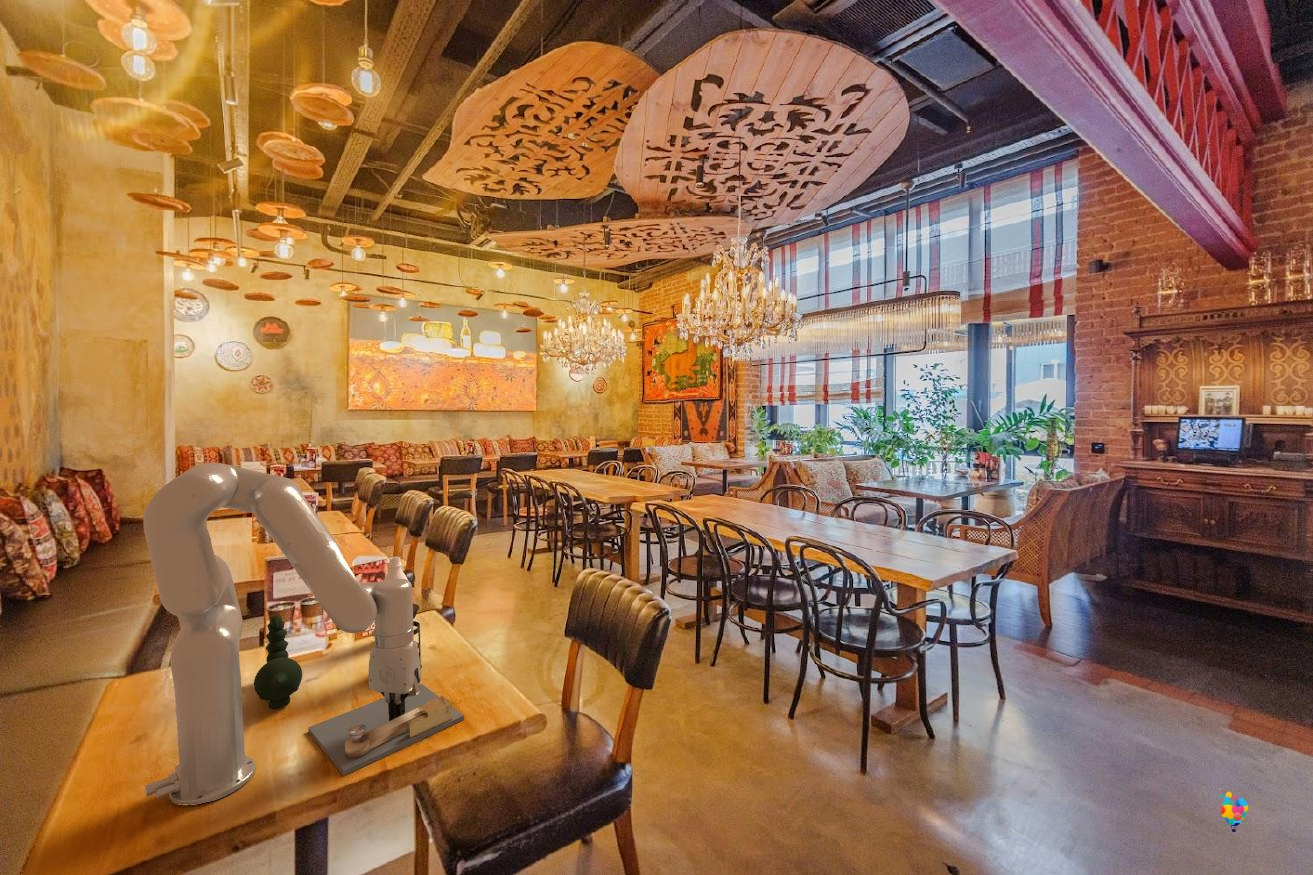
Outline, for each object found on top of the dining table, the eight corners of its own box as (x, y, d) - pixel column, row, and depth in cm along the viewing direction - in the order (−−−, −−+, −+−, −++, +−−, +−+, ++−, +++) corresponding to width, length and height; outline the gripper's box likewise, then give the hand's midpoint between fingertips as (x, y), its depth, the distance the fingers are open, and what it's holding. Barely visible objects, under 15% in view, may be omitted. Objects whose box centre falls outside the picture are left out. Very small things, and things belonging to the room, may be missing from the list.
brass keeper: (410, 738, 115) (409, 721, 115) (400, 730, 118) (400, 713, 118) (452, 719, 122) (452, 702, 122) (442, 711, 125) (442, 695, 125)
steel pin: (351, 746, 108) (351, 735, 108) (345, 739, 110) (345, 729, 110) (368, 739, 110) (368, 728, 110) (362, 732, 113) (362, 722, 112)
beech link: (351, 761, 107) (351, 750, 107) (341, 752, 110) (340, 741, 110) (436, 718, 122) (436, 708, 122) (425, 711, 125) (425, 701, 124)
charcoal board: (343, 775, 105) (343, 770, 105) (308, 731, 119) (308, 727, 119) (464, 719, 124) (463, 715, 123) (421, 687, 137) (421, 683, 137)
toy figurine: (256, 687, 140) (254, 726, 120) (253, 614, 140) (250, 640, 120) (300, 677, 145) (305, 712, 125) (296, 606, 146) (301, 629, 125)
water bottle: (399, 645, 161) (397, 562, 159) (378, 642, 162) (376, 560, 161) (415, 634, 168) (413, 555, 166) (394, 632, 169) (392, 553, 168)
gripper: (352, 641, 117) (354, 724, 118) (414, 647, 114) (416, 732, 115) (376, 627, 124) (378, 705, 125) (435, 632, 121) (437, 712, 122)
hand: (397, 717), depth 120 cm, fingers closed
